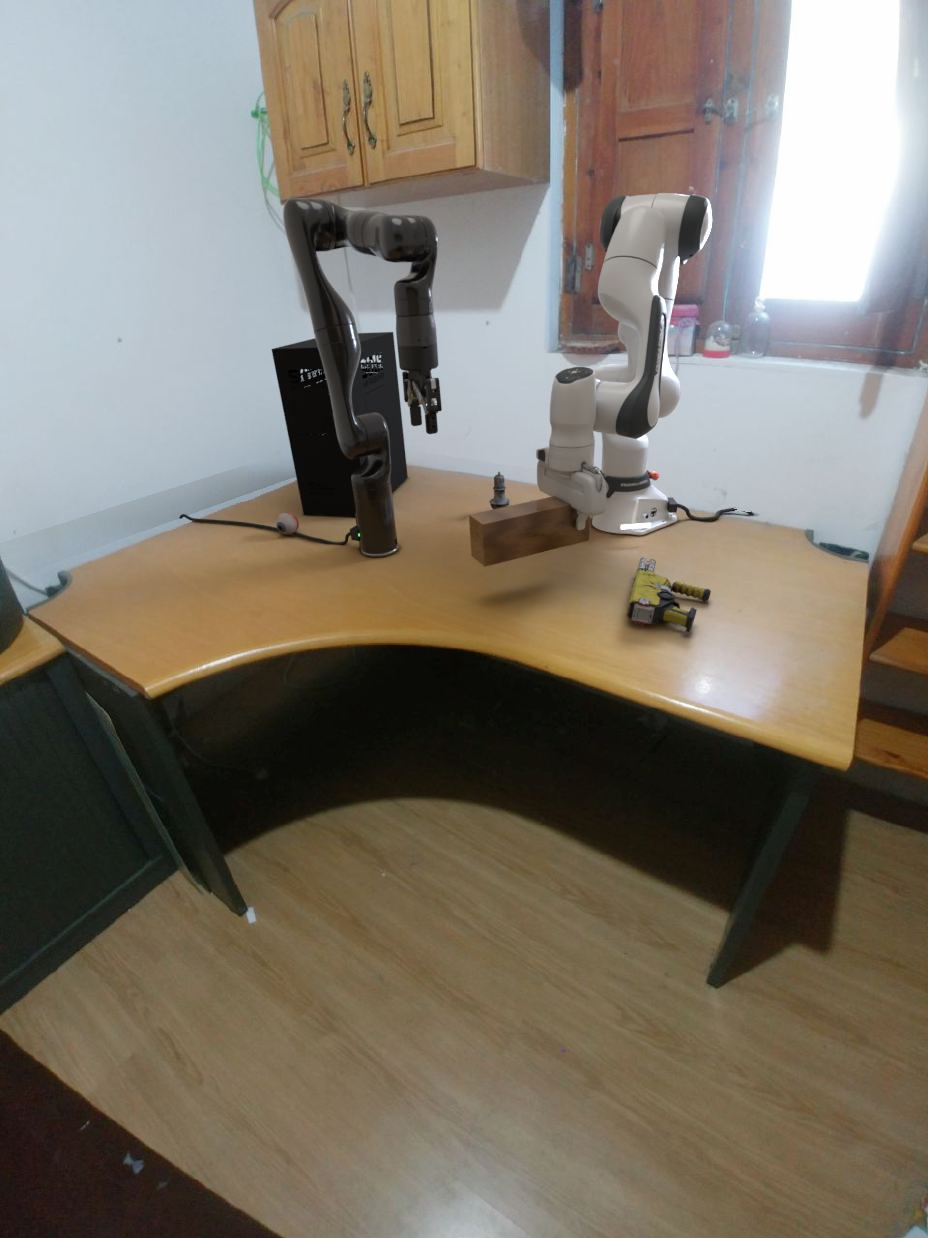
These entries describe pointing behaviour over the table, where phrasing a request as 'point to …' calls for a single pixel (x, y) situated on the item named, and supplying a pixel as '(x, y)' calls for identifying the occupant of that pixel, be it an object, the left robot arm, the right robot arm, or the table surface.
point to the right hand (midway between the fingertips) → (569, 522)
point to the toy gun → (660, 598)
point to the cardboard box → (311, 417)
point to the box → (524, 530)
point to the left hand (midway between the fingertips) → (424, 429)
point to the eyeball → (287, 523)
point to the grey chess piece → (499, 493)
